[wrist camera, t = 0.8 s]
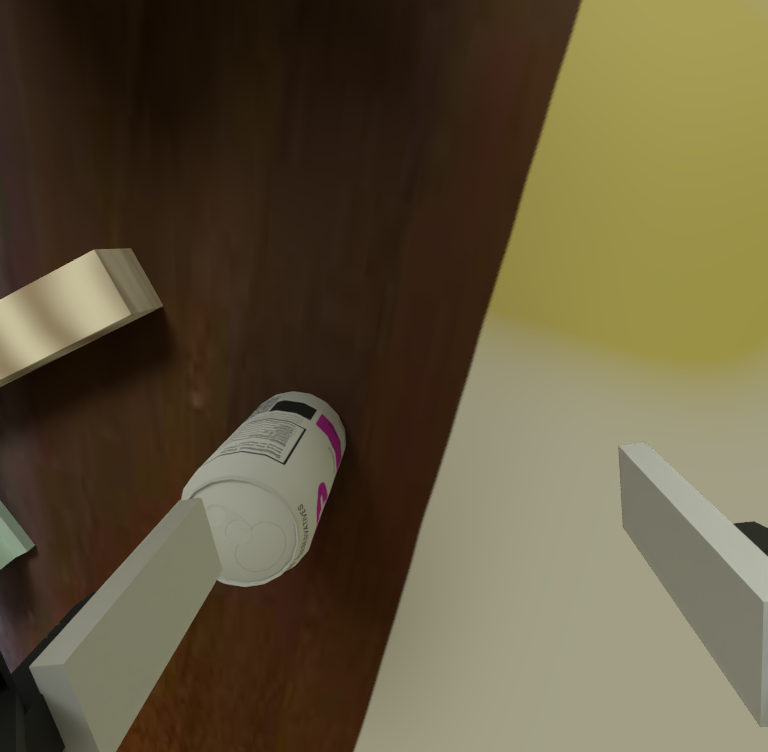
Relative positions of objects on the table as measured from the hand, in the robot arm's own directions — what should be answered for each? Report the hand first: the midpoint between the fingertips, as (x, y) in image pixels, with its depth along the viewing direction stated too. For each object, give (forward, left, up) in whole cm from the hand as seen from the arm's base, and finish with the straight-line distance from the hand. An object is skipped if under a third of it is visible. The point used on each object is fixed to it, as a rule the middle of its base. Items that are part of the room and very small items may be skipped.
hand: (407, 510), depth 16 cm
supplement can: (+2, -12, -26) cm, 29 cm away
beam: (-16, -28, -26) cm, 42 cm away
